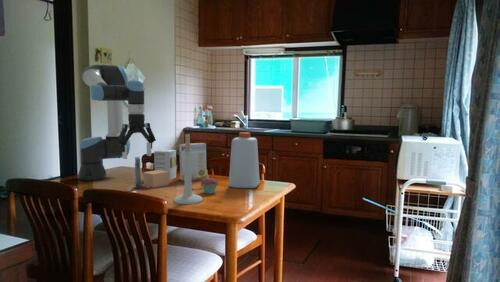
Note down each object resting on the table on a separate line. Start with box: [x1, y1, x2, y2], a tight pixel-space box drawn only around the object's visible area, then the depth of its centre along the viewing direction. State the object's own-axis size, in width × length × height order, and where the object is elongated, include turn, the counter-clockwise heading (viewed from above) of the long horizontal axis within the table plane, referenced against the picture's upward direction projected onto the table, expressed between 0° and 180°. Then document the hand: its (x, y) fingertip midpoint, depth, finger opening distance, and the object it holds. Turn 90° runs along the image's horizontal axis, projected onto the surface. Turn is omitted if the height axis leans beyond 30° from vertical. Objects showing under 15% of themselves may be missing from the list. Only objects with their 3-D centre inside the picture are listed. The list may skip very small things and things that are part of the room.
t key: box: [134, 156, 142, 190], centre depth 181 cm, size 2×10×15 cm, turn 20°
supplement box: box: [153, 149, 177, 181], centre depth 208 cm, size 10×9×17 cm
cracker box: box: [178, 142, 207, 182], centre depth 207 cm, size 14×6×21 cm, turn 115°
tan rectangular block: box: [142, 169, 171, 189], centre depth 189 cm, size 8×12×7 cm
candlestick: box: [173, 133, 204, 205], centre depth 163 cm, size 13×13×30 cm
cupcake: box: [200, 168, 219, 194], centre depth 180 cm, size 9×8×12 cm
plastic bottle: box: [228, 131, 261, 189], centre depth 195 cm, size 15×15×28 cm
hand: (137, 157), depth 180 cm, fingers open, 13 cm apart
